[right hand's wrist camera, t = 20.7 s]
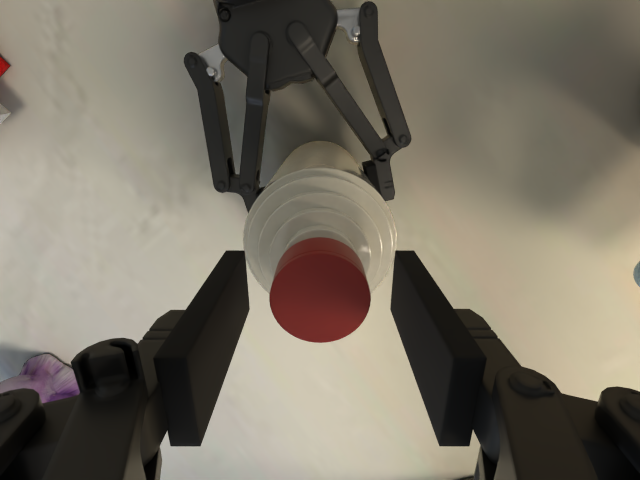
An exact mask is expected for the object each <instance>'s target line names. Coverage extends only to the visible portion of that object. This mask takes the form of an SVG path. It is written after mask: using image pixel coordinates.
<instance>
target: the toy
mask: <svg viewBox="0 0 640 480" xmlns="http://www.w3.org/2000/svg"><path fill="white" fill-rule="evenodd" d="M9 66H10V65H9V64H8V63H7V62H6V61H4V60H3V59H2V58H1V57H0V76H1V75H2V74H3V73H4V72H5V71H6V70H7V69H8V68H9ZM10 114H11V112H9V111H8V110H7V109H6V108H5V107H4V106H3V105H2V104H1V103H0V124H1V123H2V122H3V121H4V120H5V119H6V118H7V117H8V116H9V115H10Z"/></svg>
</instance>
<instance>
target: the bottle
mask: <svg viewBox="0 0 640 480" xmlns="http://www.w3.org/2000/svg"><path fill="white" fill-rule="evenodd" d="M315 237H326V238H331V239H335V240H338V241H340V242H342V243H344V244H346V245H347V246H349V247H350V248H351V249H352V250H353V251H354V252H355V253H356V254H357V255H358V257H359V258H360V260H361V262H362V264H363V267H364V271H365V274H366V278H367V281H368V285H369V289H370V294H371V293H372V292H373V291H374V290H375V289H376V288H377V287H378V286H379V285H380V284H381V283H382V281H383V280H384V278H385V277H386V276H387V274H388V272H389V270H390V268H391V266H392V263H393V260H394V257H395V251H396V245H397V234H396V227H395V222H394V219H393V216H392V213H391V211H390V209H389V207H388V205H387V203H386V202H385V201H384V199H383V198H382V196H381V195H380V194H379V192H378V191H377V190H376V188H375V187H374V186H373V184H372V183H371V181H370V180H369V179H368V177H367V176H366V175H365V173H364V172H363V171H362V169H361V168H360V166H359V165H358V164H357V162H356V161H355V160H354V158H353V157H352V156H351V154H350V153H349V152H348V151H346V150H345V149H344V148H343V147H341V146H339V145H337V144H335V143H332V142H328V141H312V142H308V143H305V144H303V145H301V146H299V147H298V148H296V149H295V150H294V151H292V152H291V153H290V155H289V156H288V157H287V158H286V160H285V161H284V162H283V164H282V165H281V166H280V168H279V169H278V171H277V172H276V173H275V175H274V176H273V177H272V179H271V180H270V181H269V183H268V184H267V186H266V187H265V188H264V190H263V191H262V192H261V194H260V195H259V196H258V198H257V199H256V201H255V202H254V203H253V205H252V207H251V209H250V211H249V213H248V216H247V219H246V222H245V227H244V235H243V244H244V251H245V257H246V260H247V263H248V265H249V268H250V270H251V272H252V274H253V275H254V277H255V278H256V280H257V281H258V283H259V284H260V285H261V286H262V287H263V288H264V289H265V290H266V291H267V292H268V293H269V294H270V289H271V285H272V282H273V278H274V275H275V271H276V268H277V265H278V262H279V260H280V258H281V257H282V255H283V254H284V253H285V252H286V251H287V250H288V249H289V248H290V247H291V246H293V245H294V244H296V243H298V242H300V241H302V240H305V239H309V238H315Z"/></svg>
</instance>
